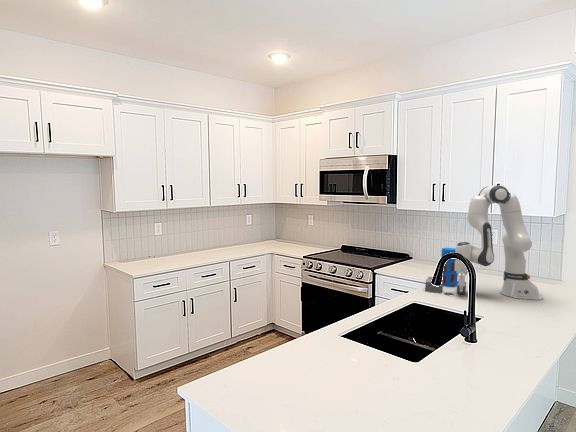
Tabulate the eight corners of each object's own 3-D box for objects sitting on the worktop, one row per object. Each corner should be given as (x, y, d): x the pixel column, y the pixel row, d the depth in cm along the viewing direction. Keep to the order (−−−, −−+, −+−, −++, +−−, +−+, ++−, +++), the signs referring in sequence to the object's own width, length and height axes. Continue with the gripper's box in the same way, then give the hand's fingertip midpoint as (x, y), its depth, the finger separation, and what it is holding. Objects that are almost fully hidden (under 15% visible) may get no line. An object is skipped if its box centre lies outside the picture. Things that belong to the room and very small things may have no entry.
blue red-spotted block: (459, 287, 262) (461, 250, 260) (443, 287, 263) (445, 250, 261) (453, 283, 273) (454, 247, 271) (437, 283, 273) (439, 247, 271)
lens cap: (453, 294, 246) (453, 293, 246) (453, 296, 241) (453, 295, 241) (444, 293, 248) (444, 292, 248) (443, 295, 243) (443, 294, 243)
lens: (465, 294, 246) (466, 281, 245) (465, 296, 241) (466, 283, 241) (456, 293, 248) (457, 280, 247) (456, 295, 243) (457, 282, 243)
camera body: (442, 289, 255) (443, 277, 254) (441, 293, 247) (442, 280, 246) (426, 288, 259) (426, 276, 259) (425, 291, 251) (425, 278, 250)
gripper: (467, 272, 233) (466, 295, 234) (467, 265, 251) (466, 287, 252) (456, 271, 235) (455, 293, 236) (457, 264, 254) (456, 285, 255)
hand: (461, 290), depth 244 cm, fingers closed on lens, 5 cm apart
